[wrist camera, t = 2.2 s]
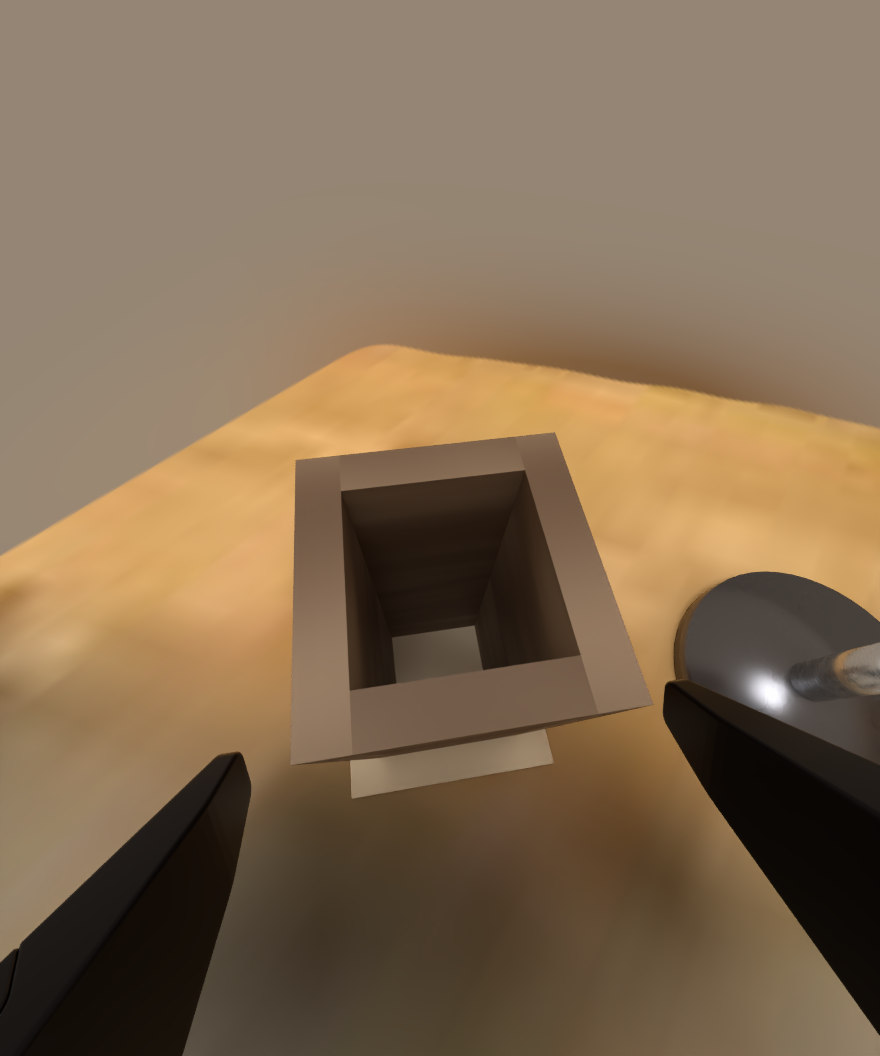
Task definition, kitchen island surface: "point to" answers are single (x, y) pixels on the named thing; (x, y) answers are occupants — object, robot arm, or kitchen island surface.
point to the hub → (788, 655)
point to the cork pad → (452, 763)
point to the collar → (449, 599)
